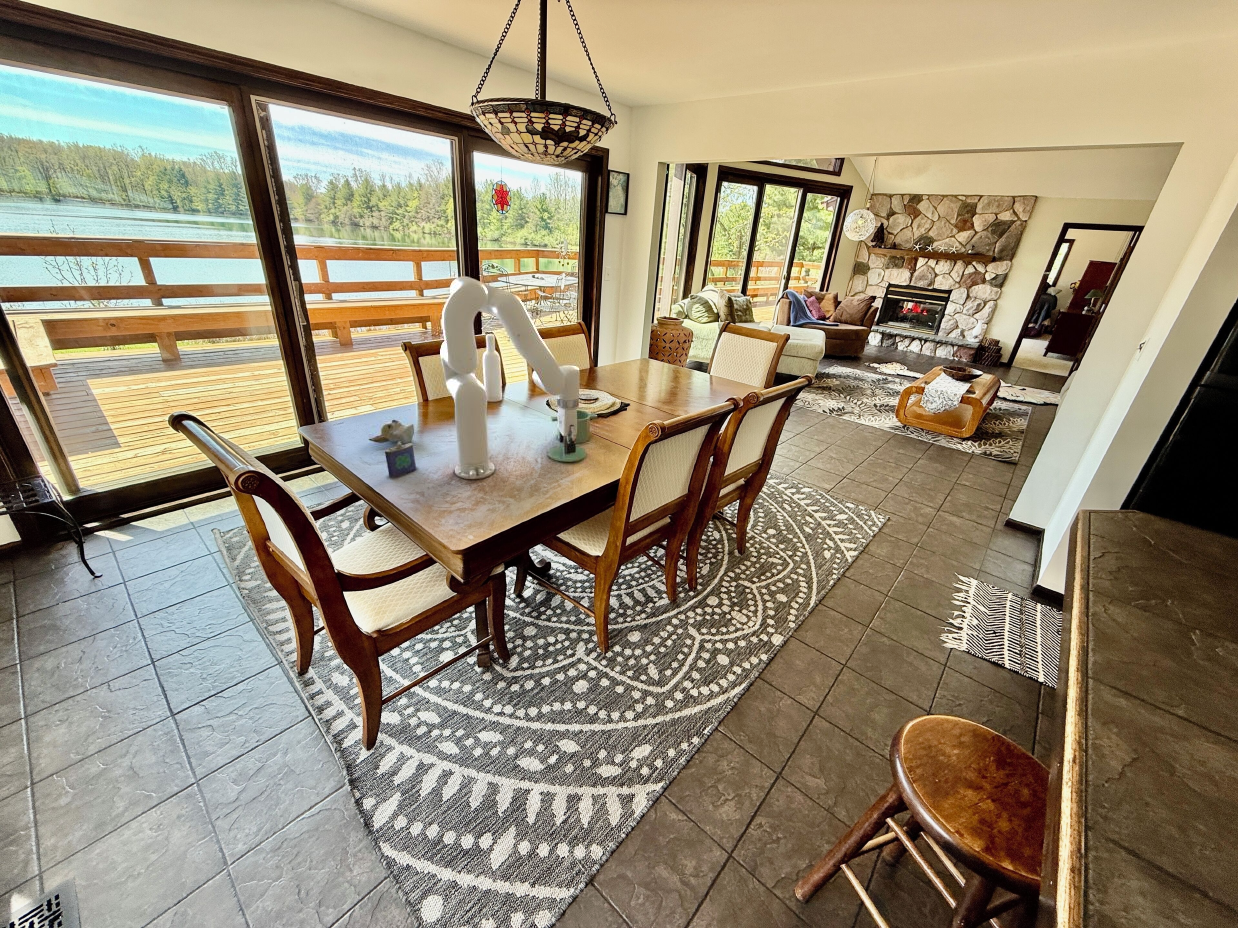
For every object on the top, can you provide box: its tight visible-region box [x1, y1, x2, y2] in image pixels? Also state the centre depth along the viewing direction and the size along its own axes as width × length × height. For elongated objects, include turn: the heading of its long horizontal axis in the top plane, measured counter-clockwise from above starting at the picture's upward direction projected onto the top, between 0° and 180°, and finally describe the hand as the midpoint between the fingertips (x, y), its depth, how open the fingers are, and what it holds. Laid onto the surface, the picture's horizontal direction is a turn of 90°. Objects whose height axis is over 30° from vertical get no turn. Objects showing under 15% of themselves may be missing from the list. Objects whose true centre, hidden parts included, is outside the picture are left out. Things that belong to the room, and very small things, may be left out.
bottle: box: [482, 333, 503, 403], centre depth 220 cm, size 8×8×30 cm
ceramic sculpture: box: [368, 419, 415, 444], centre depth 175 cm, size 11×9×15 cm
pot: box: [550, 409, 598, 444], centre depth 189 cm, size 13×18×10 cm
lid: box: [547, 436, 587, 463], centre depth 173 cm, size 14×14×7 cm
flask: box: [384, 441, 417, 479], centre depth 153 cm, size 9×3×11 cm, turn 144°
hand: (567, 447), depth 174 cm, fingers open, 9 cm apart
